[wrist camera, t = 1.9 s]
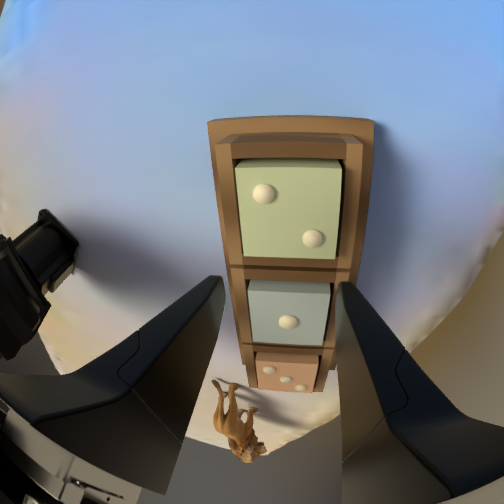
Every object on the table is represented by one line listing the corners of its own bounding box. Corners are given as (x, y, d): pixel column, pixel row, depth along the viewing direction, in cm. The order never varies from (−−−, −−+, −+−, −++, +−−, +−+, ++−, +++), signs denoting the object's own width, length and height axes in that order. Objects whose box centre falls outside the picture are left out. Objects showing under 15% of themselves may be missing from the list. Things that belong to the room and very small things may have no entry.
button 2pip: (332, 240, 16) (335, 261, 14) (250, 237, 17) (243, 258, 15) (336, 158, 13) (342, 170, 12) (243, 158, 14) (233, 169, 12)
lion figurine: (275, 417, 39) (267, 465, 32) (247, 419, 41) (237, 464, 34) (229, 374, 33) (212, 436, 26) (197, 377, 35) (178, 432, 28)
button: (321, 325, 20) (322, 347, 18) (257, 321, 21) (252, 343, 19) (328, 273, 17) (330, 296, 16) (253, 270, 18) (246, 292, 17)
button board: (334, 358, 28) (335, 396, 24) (245, 353, 29) (236, 389, 26) (368, 119, 15) (390, 129, 11) (214, 119, 17) (186, 130, 13)
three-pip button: (312, 375, 24) (311, 394, 22) (261, 372, 25) (258, 391, 23) (318, 344, 21) (318, 366, 20) (259, 341, 22) (254, 362, 21)
